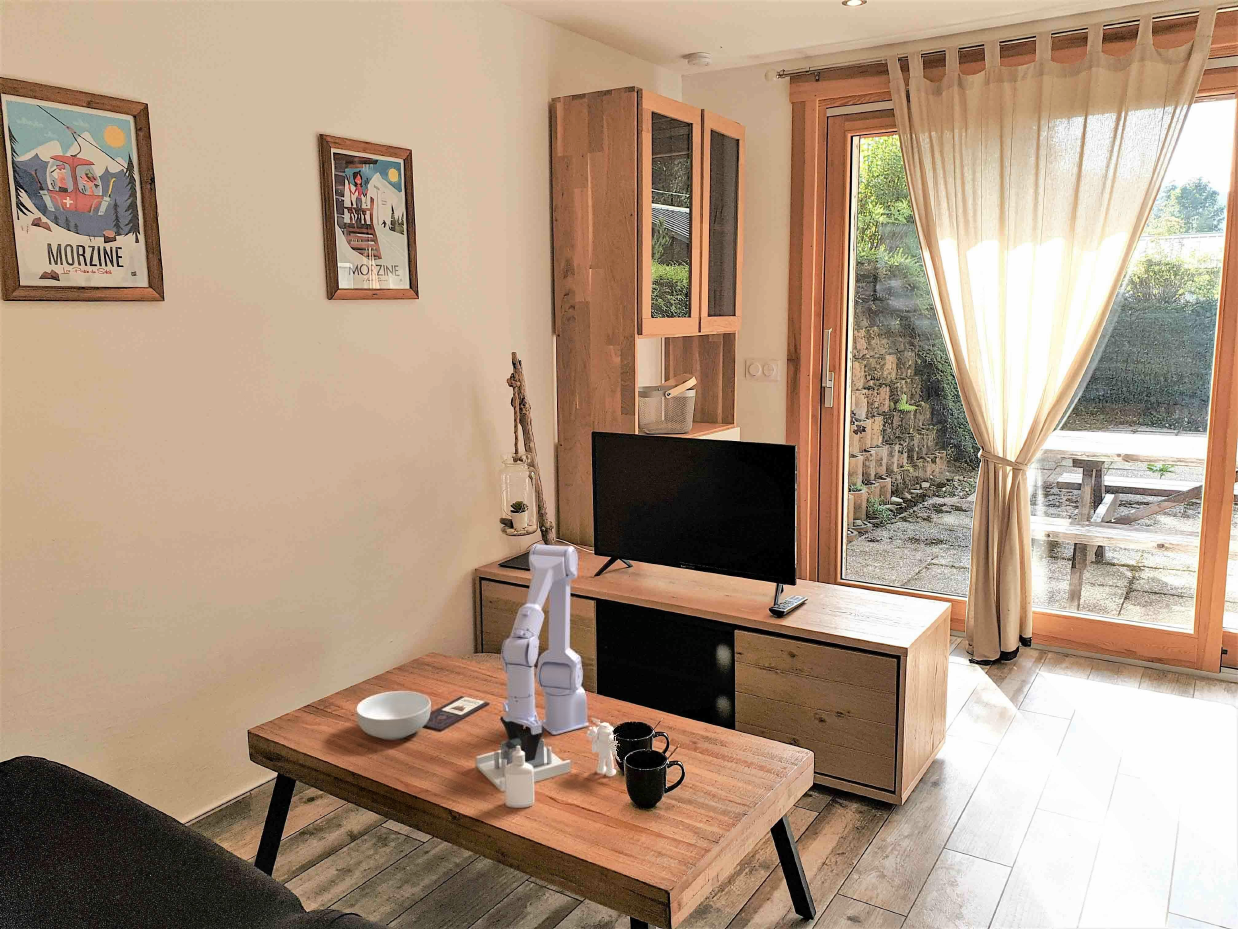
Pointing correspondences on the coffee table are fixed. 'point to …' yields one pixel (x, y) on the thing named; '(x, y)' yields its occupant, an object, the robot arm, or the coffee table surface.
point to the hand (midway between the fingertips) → (522, 754)
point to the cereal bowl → (393, 714)
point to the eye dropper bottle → (519, 781)
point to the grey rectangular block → (511, 745)
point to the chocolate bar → (453, 713)
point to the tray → (551, 768)
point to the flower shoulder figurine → (604, 746)
